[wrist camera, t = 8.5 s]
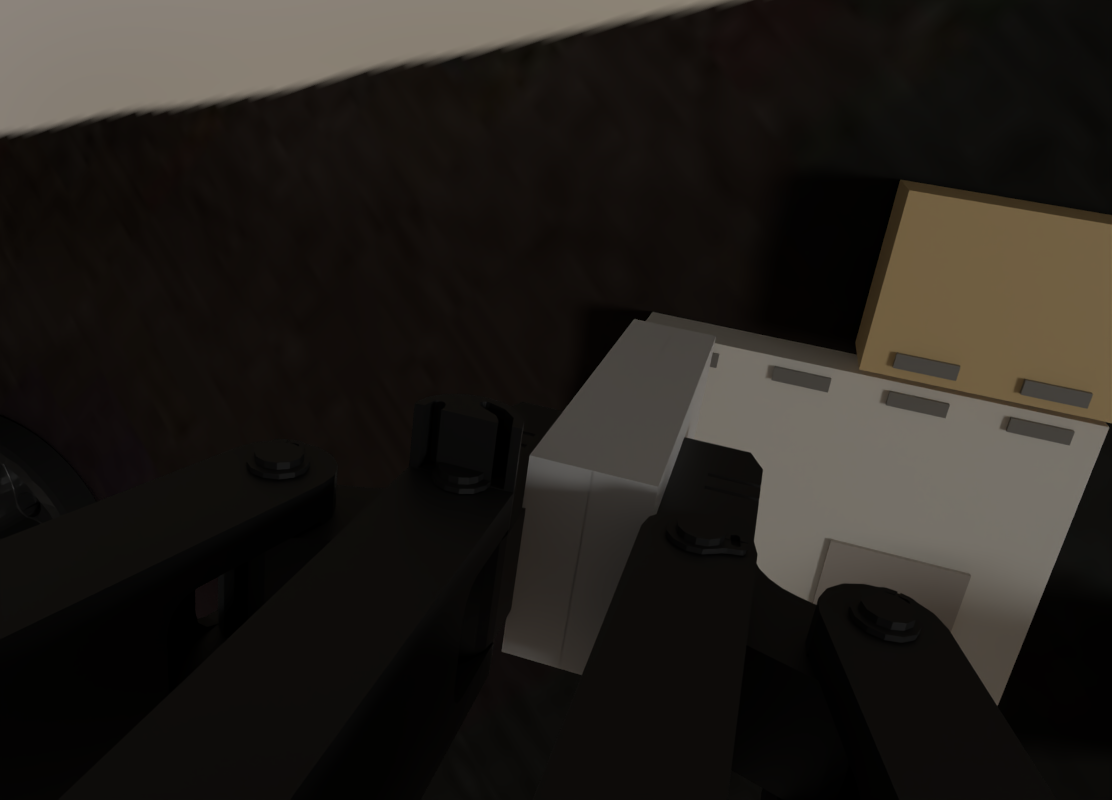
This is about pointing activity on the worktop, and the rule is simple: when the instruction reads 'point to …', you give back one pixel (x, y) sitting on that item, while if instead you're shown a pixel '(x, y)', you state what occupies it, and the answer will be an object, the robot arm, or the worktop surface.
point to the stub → (994, 300)
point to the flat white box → (899, 484)
